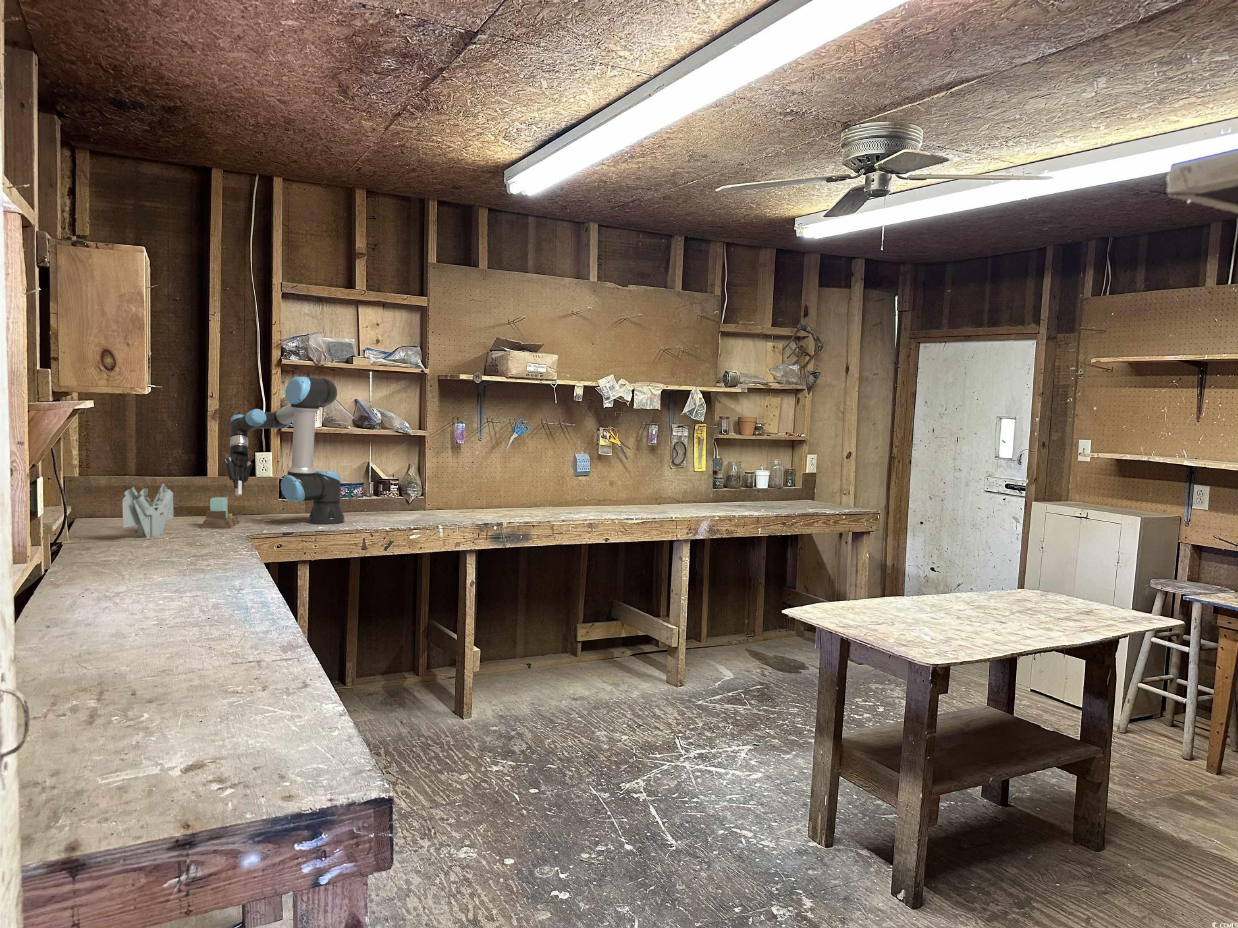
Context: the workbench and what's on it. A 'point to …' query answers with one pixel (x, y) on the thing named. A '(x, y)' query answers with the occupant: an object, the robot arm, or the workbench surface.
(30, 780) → the workbench surface
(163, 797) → the workbench surface
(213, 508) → the mint green box
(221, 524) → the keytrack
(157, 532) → the bracket
